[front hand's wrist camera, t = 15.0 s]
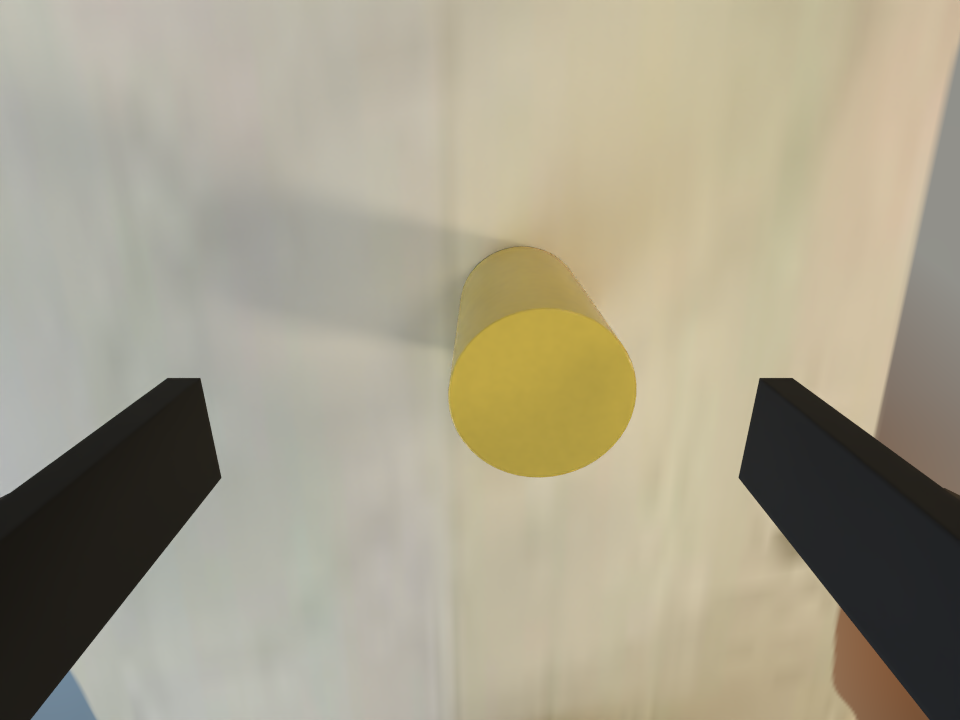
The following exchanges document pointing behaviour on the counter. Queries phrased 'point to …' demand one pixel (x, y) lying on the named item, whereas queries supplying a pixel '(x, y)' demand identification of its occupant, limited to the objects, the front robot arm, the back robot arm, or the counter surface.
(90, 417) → the counter surface
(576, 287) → the cylinder
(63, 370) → the counter surface
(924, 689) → the front robot arm
